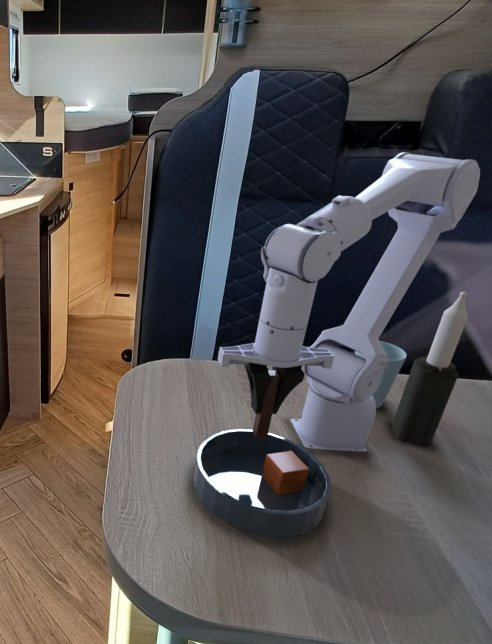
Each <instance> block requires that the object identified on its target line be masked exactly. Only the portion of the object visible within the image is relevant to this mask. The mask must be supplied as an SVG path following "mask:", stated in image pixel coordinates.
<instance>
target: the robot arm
mask: <svg viewBox="0 0 492 644" xmlns="http://www.w3.org/2000/svg"><path fill="white" fill-rule="evenodd" d="M480 177H481V169H480V167H479V164H478V162H477V160H475V159H458V158H449V157H448V158H447V157H438V156H431V155H423V154H414V153H411V152H407V151H404V152H403V151H402V152H400V153H397V155H395V156H394V157H393V158H391V159H389V160H388V161H387V163H386V165H385V166H384V168H383V171H382V174H381V176H380V177H379V178H378V179H377V180H375V181H374V182H372V184H370V185H369V186H368V187H366V188H365V189H364V190H363V191H361V192H360V193H359V194H358V195H356V196H350V195H337V196H336V197H334V198H332V200H331V202H330V203H328V204H327V205H325V206H323V207H321V208H320V209H319V210H317V211H315V212H314V213H312V214H311V215H309V216H307V217H306V218H305V219H303V220H301V221H300V222H298V223H296V224H292V223H286V224H283V225H281V226H278V227H276V228H275V229H274V230H273V231H272V232H271V233H270V234H269V236H267V238H266V240H265V243H264V246H263V247H261V250H260V259H261V262H262V264H263V267H264V271H263V276H262V277H263V278H264V279H263V280H264V281H265V283H266V284H265V289H264V294H263V299H262V303H261V309H260V314H259V318H258V325H257V330H256V335H255V340H254V342H251V343H245V344H240V345H233V346H223V347H222V346H220V347H219V348H218V349H219V350H218V355H217V361H218V363H219V365H220V367H222V368H223V367H224V368H226V367H227V368H228V367H230V365H239V366H240V365H243V366H244V369H245V371H246V372H245V373H246V376H247V380H248V383H249V388H250V407H251V408H252V410H253V412H254V414H255V415H256V414H260V413H261V411H262V408H263V403H264V398H265V394H266V391H267V389H268V386H269V384H270V382H271V380H272V377H271V376H270V374H269V373H268V370H270V368H269V367H272V369H271V370H276V371H277V372H278V373H279V375H280V380H279V385H278V389H277V394H276V399H275V403H274V408H273V413H272V415H277V413H278V412H279V410H280V407H281V406H282V405H283V402H284V401H285V400H286V399H287V398H288V396H289V394H290V393H291V392H292V391H293V390H294V389H295V388H296V387H298V385H299V384H301V383H302V382H304V379H305V376H306V380H305V382H306V383H307V384H308V385H309V387H308V390H307V394H306V398H305V402H304V407H303V410H302V414H301V417H300V418H290V419H289V420H290V422H291V425H292V426H293V428H294V429H295V431H296V433H297V435H298V437H299V439H300V440H301V443H302V444H303V446H304V448H305V449H312V450H313V449H314V450H327V451H328V450H330V451H349V452H365V453H366V452H368V449H367V447H366V446H367V445H368V444H367V443H368V440H369V438H370V434H371V431H372V428H373V425H374V423H375V420H376V415H377V408H376V403H375V399H374V397H373V394H374V393H375V391H376V390H377V389H378V387H379V385H380V383H381V380H382V376H383V373H384V370H385V368H386V366H387V364H388V362H389V360H388V357H387V355H386V353H385V351H384V349H383V347H382V345H381V343H380V342H379V341H380V339H379V338H380V336H381V335H382V333H383V332H384V330H385V328H386V326H387V325H388V323H389V322H390V319H391V318H392V316H393V314H394V313H395V311H396V310H397V308H398V306H399V304H400V303H401V302H402V300H403V298H404V296H405V294H406V292H407V291H408V290H409V288H410V285H411V284H412V282H413V280H414V279H415V277H416V275H417V274H418V272H419V270H420V268H421V267H422V265H423V264H424V262H425V260H426V258H427V257H428V255H429V253H430V252H431V250H432V248H433V247H434V245H435V243H436V242H437V240H438V238H439V236H440V234H441V233H444V232H447V231H451V230H454V229H455V228H456V226H457V225H458V223H459V222H460V220H461V219H462V218H463V216H464V214H465V213H466V211H467V209H468V208H469V206H470V204H471V202H472V200H473V199H474V197H475V196H476V194H477V191H478V188H479V182H480ZM386 213H388V217H390V218H391V219H393V221H395V222H396V223H397V230H396V232H395V233H394V236H393V237H392V239H391V241H390V242H389V244H388V246H387V248H386V249H385V251H384V253H383V255H382V256H381V258H380V260H379V261H378V264H377V266H376V267H375V269H373V270H374V271H373V272H372V274H371V276H370V277H369V279H368V281H367V282H366V284H365V286H364V288H363V289H362V291H361V293H360V295H359V296H358V298H357V300H356V302H355V304H354V305H353V307H352V309H351V311H350V313H349V315H348V316H347V317H346V319H345V321H344V323H343V324H341V325H338V326H336V327H335V326H334V327H332V328H328V329H324V330H322V331H321V334H319V336H318V337H317V339H316V340H315V341H314V343H313V344H312V345H310V346H304V345H303V344H304V340H305V336H306V333H307V328H308V324H309V319H310V315H311V311H312V307H313V303H314V299H315V295H316V290H317V286H318V282H319V280H320V279H323V278H325V276H326V275H327V274H328V273H329V271H331V269H332V267H333V265H334V263H335V262H336V261H337V260H339V258H340V257H341V253H342V252H343V251H345V250H346V249H348V248H349V247H350V246H351V245H353V244H354V243H356V242H358V241H359V240H361V239H362V238H363V237H365V236H366V235H367V234H368V233H369V232H370V230H371V228H372V225H373V223H372V222H373V220H375V219H377V218H379V217H380V216H382V215H384V214H386ZM340 346H341V347H340ZM342 347H346V348H348V349H350V350H353V351H354V352H355V351H357V352H360V353H362V354H363V355H364V356H365V358H366V359H365V358H362V357H360V356H358V355H356V354H355V353H353V352H351V351H349V350H347V349H344V348H342Z"/></svg>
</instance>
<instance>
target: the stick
mask: <svg viewBox="0 0 492 644" xmlns="http://www.w3.org/2000/svg"><path fill="white" fill-rule="evenodd" d="M268 373H269V374H270V376H271V377H272V380H271V382H270V384H269V386H268V389H267V391H266V394H265V398H264V403H263V408H262V411H261V413H260V414H256V413H255V417H254V422H253V427H252V430H253V433H254V435H255V437H256V438H267V436H268V433H269V431H270V426H271V422H272V417H273V414H272V413H273V408H274V403H275V399H276V394H277V389H278V385H279V380H280V375H279V373H278V372H277V371H276V370H272V369H269V370H268Z"/></svg>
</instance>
